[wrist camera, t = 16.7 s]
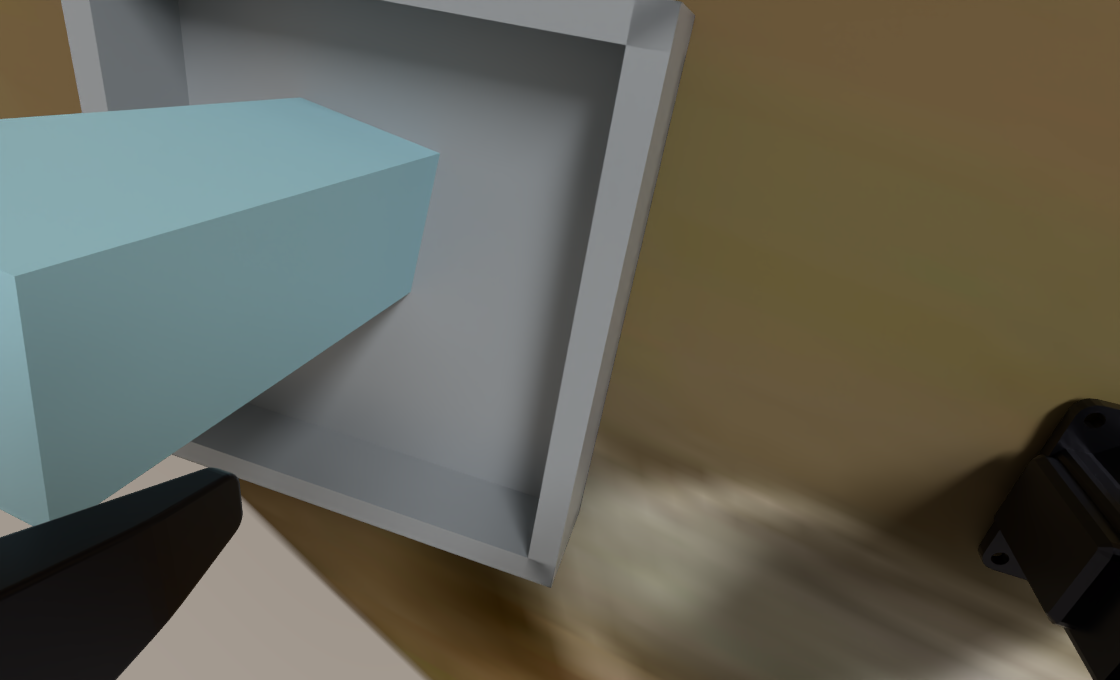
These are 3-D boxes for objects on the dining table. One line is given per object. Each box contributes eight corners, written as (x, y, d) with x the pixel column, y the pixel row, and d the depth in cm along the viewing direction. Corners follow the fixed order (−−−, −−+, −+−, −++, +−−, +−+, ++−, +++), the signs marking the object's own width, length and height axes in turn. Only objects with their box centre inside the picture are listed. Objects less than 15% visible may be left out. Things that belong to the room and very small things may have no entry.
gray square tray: (695, 15, 16) (681, 2, 13) (578, 512, 24) (551, 587, 21) (169, -75, 19) (41, -107, 16) (221, 396, 27) (144, 445, 24)
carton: (439, 153, 19) (-77, 302, 7) (410, 292, 21) (-13, 579, 9) (300, 97, 19) (-401, 148, 7) (286, 239, 22) (-264, 447, 10)
